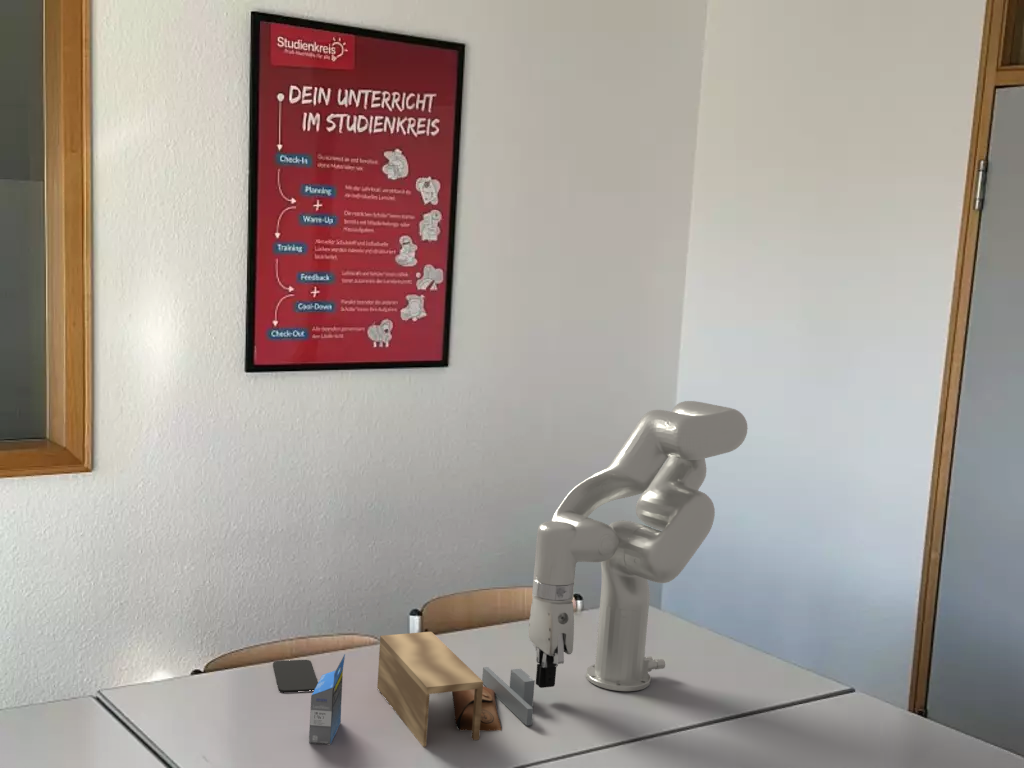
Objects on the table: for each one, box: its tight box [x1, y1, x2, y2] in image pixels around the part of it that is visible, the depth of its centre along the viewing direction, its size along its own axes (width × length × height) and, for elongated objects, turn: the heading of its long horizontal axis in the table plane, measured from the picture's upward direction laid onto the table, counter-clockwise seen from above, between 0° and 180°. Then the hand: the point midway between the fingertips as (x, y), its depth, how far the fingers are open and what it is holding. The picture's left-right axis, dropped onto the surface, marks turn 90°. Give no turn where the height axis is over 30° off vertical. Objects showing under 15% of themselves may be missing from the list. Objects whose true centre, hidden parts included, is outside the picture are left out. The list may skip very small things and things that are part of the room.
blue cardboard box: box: [308, 653, 346, 745], centre depth 185 cm, size 9×4×12 cm, turn 178°
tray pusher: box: [481, 666, 536, 727], centre depth 204 cm, size 4×20×5 cm, turn 25°
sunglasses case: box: [451, 685, 502, 732], centre depth 200 cm, size 18×7×7 cm, turn 6°
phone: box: [272, 659, 319, 694], centre depth 209 cm, size 7×1×15 cm
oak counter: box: [376, 631, 484, 748], centre depth 196 cm, size 10×25×10 cm, turn 24°
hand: (545, 685), depth 206 cm, fingers closed
